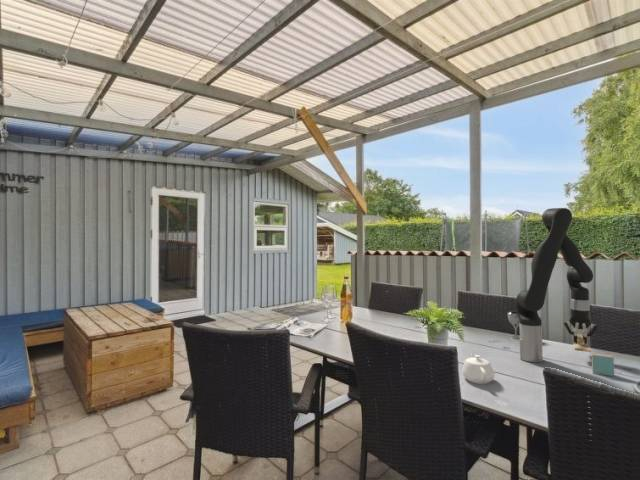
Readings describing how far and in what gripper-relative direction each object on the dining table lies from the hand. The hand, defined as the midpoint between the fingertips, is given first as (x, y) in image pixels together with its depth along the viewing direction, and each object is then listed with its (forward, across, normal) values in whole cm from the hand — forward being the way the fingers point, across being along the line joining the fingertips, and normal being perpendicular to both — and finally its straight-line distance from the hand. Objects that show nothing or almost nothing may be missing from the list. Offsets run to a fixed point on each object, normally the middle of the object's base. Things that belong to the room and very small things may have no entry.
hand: (580, 343), depth 164 cm
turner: (+1, 0, -2) cm, 2 cm away
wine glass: (+7, -28, +23) cm, 37 cm away
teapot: (+8, -40, -51) cm, 66 cm away
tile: (+3, +5, -21) cm, 22 cm away
